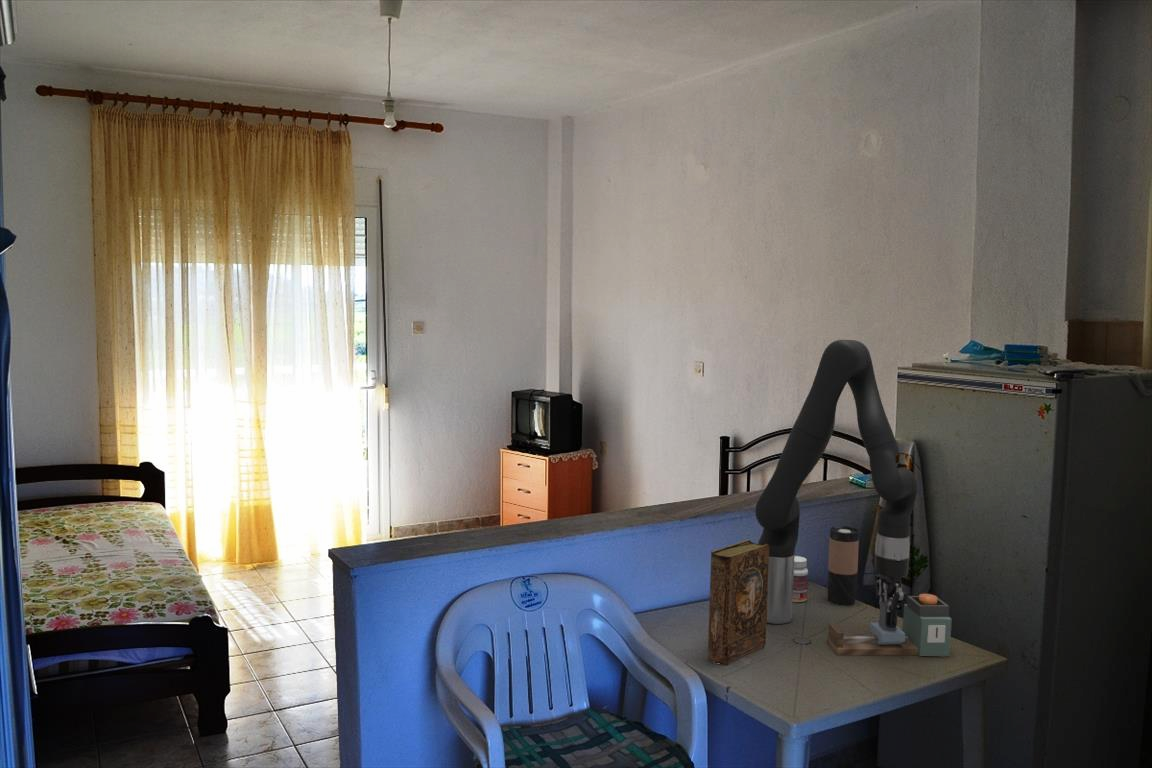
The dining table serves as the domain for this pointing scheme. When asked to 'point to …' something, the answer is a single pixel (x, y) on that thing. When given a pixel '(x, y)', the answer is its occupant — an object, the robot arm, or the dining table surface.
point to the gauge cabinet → (928, 627)
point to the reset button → (927, 599)
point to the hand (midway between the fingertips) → (887, 624)
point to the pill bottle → (800, 579)
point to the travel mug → (843, 565)
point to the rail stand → (865, 645)
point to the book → (738, 601)
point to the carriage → (886, 629)
